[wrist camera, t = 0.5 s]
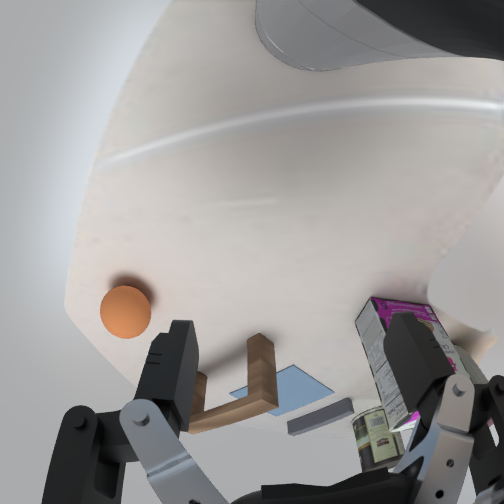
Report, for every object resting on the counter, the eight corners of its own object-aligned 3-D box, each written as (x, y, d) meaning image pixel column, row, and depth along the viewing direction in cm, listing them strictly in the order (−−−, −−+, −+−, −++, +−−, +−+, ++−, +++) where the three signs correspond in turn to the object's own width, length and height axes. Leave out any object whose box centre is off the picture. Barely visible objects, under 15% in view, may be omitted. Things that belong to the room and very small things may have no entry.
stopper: (287, 421, 51) (288, 434, 49) (347, 397, 46) (350, 410, 44) (292, 424, 52) (293, 436, 49) (351, 400, 47) (354, 413, 45)
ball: (102, 278, 31) (83, 312, 26) (144, 271, 30) (127, 308, 25) (123, 314, 34) (109, 349, 29) (163, 310, 33) (152, 348, 28)
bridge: (184, 372, 40) (175, 427, 32) (259, 332, 35) (261, 399, 27) (198, 380, 42) (192, 434, 33) (273, 343, 37) (278, 407, 28)
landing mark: (229, 393, 44) (229, 394, 44) (293, 364, 39) (293, 365, 39) (276, 415, 49) (276, 416, 49) (334, 391, 45) (334, 392, 44)
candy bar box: (431, 302, 34) (482, 396, 20) (413, 327, 36) (454, 419, 22) (369, 293, 32) (418, 412, 18) (352, 322, 35) (387, 435, 21)
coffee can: (362, 427, 57) (372, 475, 45) (344, 420, 53) (354, 474, 41) (398, 410, 53) (413, 459, 41) (384, 401, 49) (400, 457, 37)
